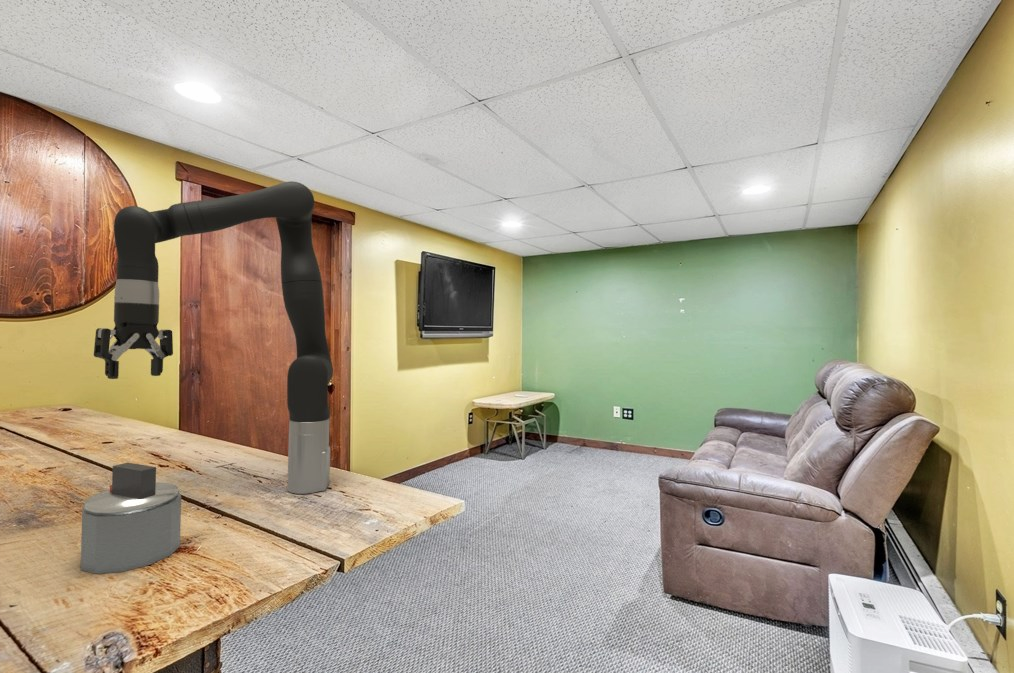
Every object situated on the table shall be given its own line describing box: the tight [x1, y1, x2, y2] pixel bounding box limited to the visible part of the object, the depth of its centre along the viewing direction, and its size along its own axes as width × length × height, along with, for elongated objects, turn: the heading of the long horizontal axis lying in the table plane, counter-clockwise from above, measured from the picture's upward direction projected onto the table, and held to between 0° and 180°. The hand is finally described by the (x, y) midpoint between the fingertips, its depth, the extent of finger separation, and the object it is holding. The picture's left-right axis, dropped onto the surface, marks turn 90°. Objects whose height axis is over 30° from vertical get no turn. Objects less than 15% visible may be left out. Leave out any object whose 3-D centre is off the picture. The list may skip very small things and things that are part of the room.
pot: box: [80, 490, 182, 575], centre depth 79 cm, size 13×13×9 cm
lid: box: [84, 462, 179, 516], centre depth 79 cm, size 12×12×6 cm
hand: (135, 377), depth 99 cm, fingers open, 8 cm apart
